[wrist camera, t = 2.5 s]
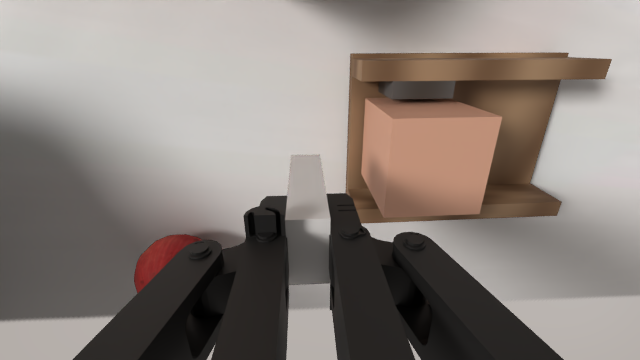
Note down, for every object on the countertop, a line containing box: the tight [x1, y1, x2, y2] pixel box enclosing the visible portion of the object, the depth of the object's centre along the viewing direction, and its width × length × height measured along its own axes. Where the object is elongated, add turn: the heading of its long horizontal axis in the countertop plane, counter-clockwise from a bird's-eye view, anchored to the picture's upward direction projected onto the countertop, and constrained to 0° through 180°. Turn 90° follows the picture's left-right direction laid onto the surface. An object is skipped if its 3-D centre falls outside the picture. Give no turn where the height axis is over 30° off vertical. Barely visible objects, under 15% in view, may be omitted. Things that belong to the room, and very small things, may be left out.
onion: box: [134, 234, 201, 293], centre depth 24 cm, size 6×6×8 cm
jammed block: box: [361, 98, 502, 218], centre depth 21 cm, size 6×6×7 cm
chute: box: [346, 53, 612, 223], centre depth 23 cm, size 16×12×4 cm
